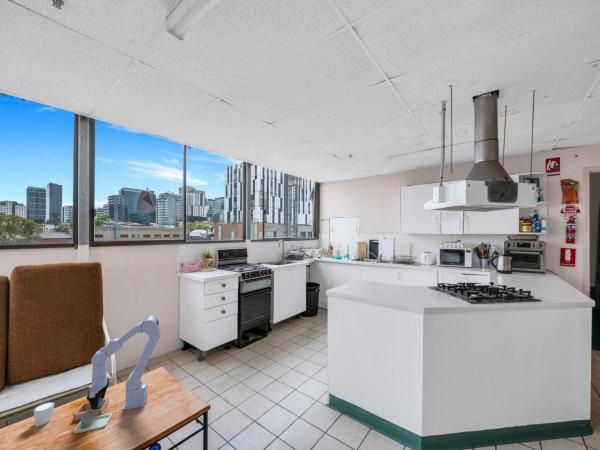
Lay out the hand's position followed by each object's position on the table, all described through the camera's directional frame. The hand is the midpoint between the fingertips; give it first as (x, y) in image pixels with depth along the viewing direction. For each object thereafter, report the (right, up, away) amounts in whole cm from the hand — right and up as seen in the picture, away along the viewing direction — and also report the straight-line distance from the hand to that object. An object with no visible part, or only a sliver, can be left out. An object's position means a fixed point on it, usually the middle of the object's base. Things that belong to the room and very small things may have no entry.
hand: (97, 403), depth 125 cm
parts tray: (+5, -4, -9) cm, 10 cm away
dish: (-2, -4, -1) cm, 5 cm away
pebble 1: (+2, -3, -9) cm, 10 cm away
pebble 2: (0, -3, 0) cm, 3 cm away
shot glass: (-20, -4, -7) cm, 21 cm away
